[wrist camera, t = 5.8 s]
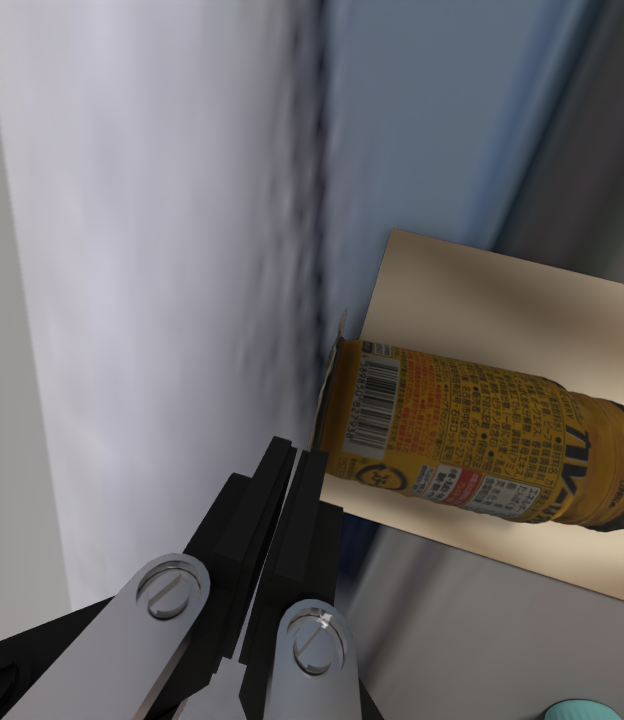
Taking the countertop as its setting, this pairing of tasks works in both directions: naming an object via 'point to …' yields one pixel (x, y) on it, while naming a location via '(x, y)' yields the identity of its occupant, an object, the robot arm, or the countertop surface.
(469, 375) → the condiment
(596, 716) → the cupcake
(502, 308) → the cutting board
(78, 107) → the countertop surface
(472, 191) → the countertop surface
